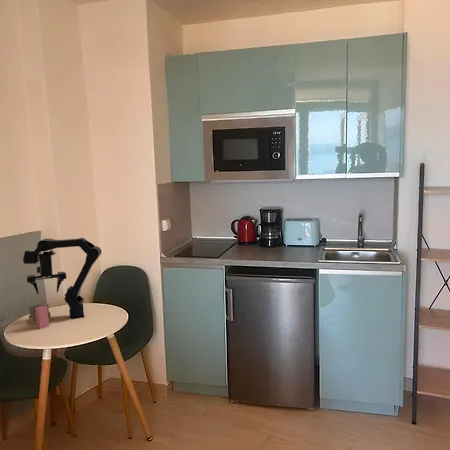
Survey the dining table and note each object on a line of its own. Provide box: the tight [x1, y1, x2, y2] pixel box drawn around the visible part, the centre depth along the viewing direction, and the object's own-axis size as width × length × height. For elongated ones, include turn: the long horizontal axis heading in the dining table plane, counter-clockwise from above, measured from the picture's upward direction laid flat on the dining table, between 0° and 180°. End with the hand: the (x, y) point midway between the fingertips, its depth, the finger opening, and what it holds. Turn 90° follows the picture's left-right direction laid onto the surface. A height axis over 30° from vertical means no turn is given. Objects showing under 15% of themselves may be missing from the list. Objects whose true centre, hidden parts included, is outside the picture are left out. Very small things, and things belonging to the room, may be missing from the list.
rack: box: [28, 303, 53, 327], centre depth 237 cm, size 10×12×7 cm
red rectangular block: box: [35, 304, 50, 330], centre depth 228 cm, size 4×4×10 cm
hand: (47, 293), depth 240 cm, fingers open, 9 cm apart
